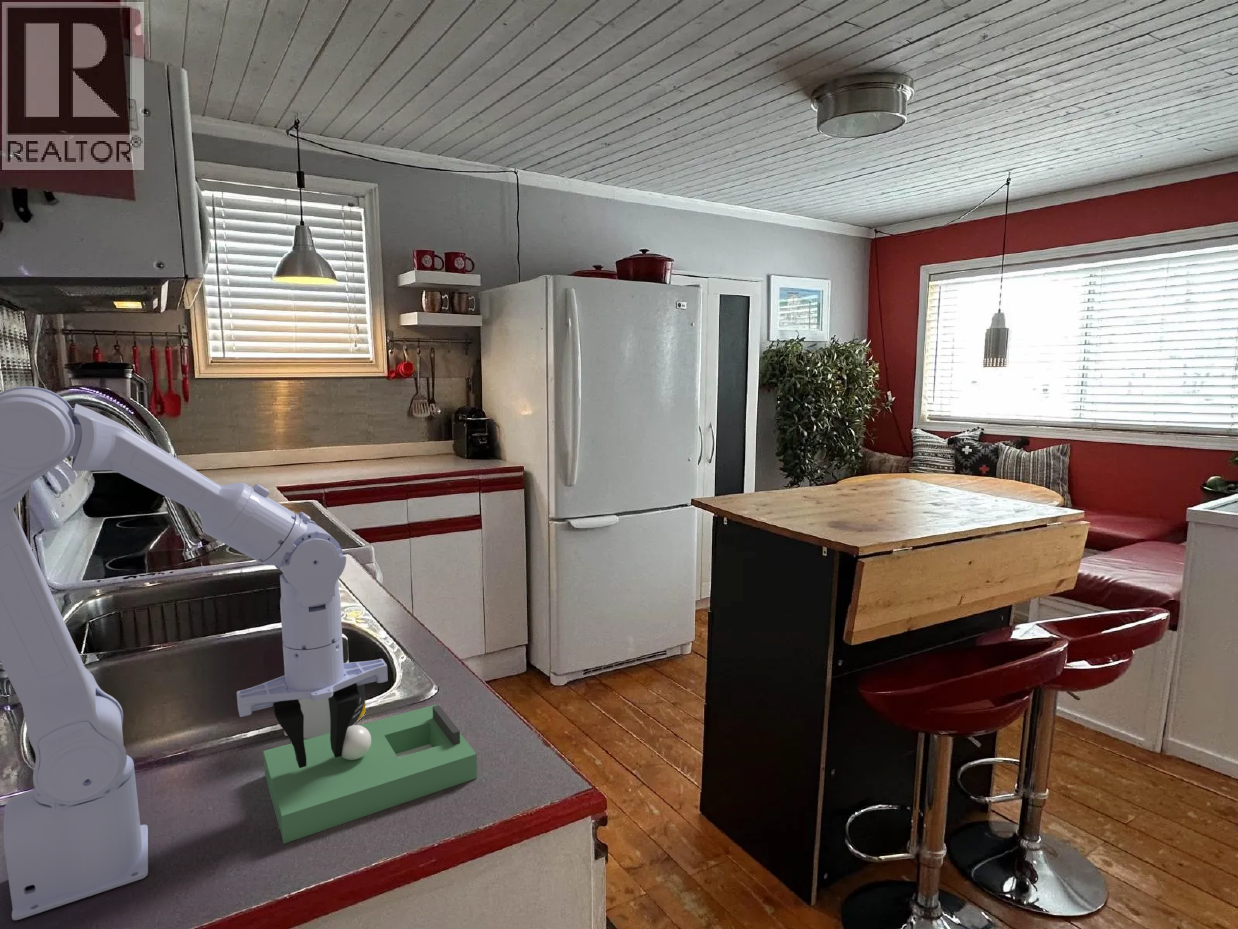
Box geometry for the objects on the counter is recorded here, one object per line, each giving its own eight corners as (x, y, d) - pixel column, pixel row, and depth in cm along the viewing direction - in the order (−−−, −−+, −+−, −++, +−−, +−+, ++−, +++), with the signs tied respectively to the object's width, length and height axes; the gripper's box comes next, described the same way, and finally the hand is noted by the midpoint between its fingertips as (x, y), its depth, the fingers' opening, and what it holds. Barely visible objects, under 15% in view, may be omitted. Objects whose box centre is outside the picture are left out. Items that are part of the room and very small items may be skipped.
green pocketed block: (283, 843, 68) (280, 802, 68) (264, 775, 79) (262, 738, 78) (476, 778, 79) (476, 741, 79) (437, 725, 90) (436, 693, 89)
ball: (338, 768, 75) (343, 736, 75) (331, 752, 78) (336, 721, 78) (372, 764, 77) (377, 732, 77) (364, 748, 80) (368, 718, 80)
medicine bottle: (334, 744, 86) (330, 651, 84) (282, 737, 87) (277, 645, 85) (366, 715, 92) (363, 628, 90) (318, 708, 94) (313, 623, 92)
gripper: (238, 670, 66) (248, 800, 68) (393, 637, 74) (398, 754, 76) (231, 643, 72) (240, 764, 74) (375, 615, 80) (380, 725, 82)
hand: (319, 757), depth 76 cm, fingers open, 3 cm apart
